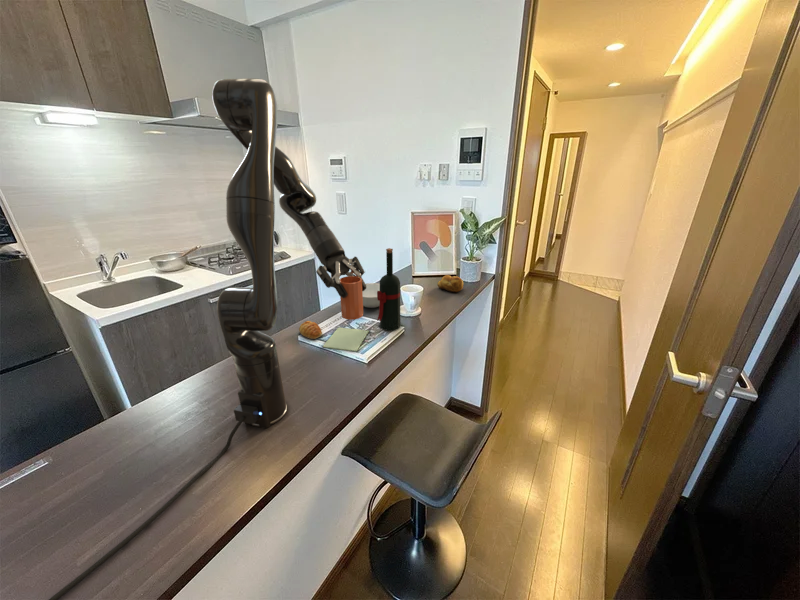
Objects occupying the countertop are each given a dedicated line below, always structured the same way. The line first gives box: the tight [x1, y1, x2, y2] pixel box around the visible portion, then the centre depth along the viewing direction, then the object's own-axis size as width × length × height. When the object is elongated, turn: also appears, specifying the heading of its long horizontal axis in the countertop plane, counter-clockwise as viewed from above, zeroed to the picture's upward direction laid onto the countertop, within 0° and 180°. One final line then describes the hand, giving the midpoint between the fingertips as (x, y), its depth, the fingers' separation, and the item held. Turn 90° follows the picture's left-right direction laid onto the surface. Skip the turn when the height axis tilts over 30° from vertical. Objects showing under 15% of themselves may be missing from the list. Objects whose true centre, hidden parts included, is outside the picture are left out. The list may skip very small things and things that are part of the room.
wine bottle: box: [377, 247, 401, 332], centre depth 117 cm, size 8×10×30 cm
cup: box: [339, 275, 364, 321], centre depth 93 cm, size 6×6×11 cm
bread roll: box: [437, 274, 464, 293], centre depth 158 cm, size 13×10×8 cm
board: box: [322, 326, 370, 352], centre depth 115 cm, size 14×12×1 cm
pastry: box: [298, 320, 323, 340], centre depth 117 cm, size 9×7×4 cm
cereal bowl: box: [362, 282, 380, 309], centre depth 141 cm, size 17×17×7 cm
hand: (355, 293), depth 92 cm, fingers closed on cup, 6 cm apart
